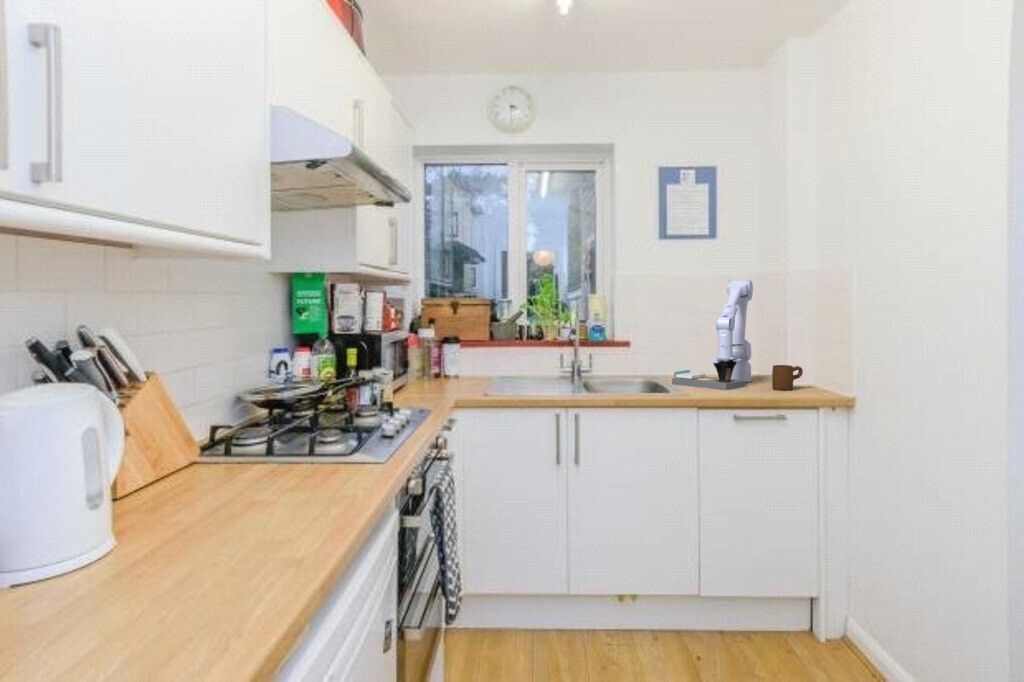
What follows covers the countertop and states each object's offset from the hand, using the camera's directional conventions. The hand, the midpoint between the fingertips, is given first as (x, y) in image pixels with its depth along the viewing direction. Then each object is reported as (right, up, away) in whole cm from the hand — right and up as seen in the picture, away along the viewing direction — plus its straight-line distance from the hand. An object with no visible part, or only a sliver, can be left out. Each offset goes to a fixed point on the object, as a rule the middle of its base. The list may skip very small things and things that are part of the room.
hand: (724, 379), depth 262 cm
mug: (+22, -4, -9) cm, 24 cm away
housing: (-5, -3, +6) cm, 9 cm away
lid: (-11, 0, +13) cm, 17 cm away
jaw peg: (0, -2, 0) cm, 2 cm away
